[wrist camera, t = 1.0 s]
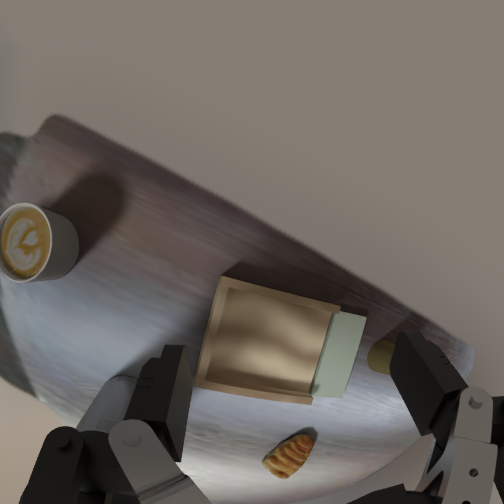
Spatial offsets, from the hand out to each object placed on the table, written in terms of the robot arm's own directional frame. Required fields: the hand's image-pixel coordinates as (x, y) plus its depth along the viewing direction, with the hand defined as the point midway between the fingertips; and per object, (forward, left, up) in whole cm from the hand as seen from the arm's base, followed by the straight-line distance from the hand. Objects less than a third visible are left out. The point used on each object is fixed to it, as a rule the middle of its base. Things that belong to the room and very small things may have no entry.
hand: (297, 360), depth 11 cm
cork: (-5, -31, -35) cm, 47 cm away
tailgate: (-6, -19, -34) cm, 39 cm away
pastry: (-26, -19, -35) cm, 47 cm away
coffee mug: (-1, +28, -35) cm, 44 cm away
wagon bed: (-6, -9, -34) cm, 36 cm away
